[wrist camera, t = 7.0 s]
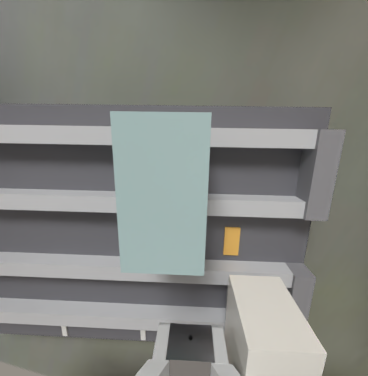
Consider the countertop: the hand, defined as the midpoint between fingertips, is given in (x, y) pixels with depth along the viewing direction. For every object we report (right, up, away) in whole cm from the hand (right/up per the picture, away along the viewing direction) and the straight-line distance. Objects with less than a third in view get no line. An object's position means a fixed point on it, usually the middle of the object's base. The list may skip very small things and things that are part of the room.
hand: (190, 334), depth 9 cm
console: (-4, +4, +4) cm, 7 cm away
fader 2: (+3, +1, +2) cm, 4 cm away
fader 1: (-1, +8, +1) cm, 8 cm away
